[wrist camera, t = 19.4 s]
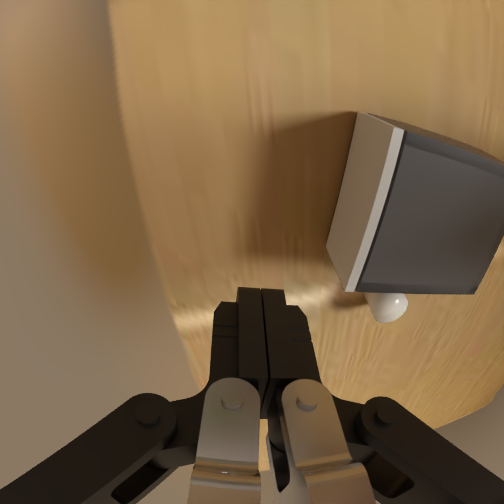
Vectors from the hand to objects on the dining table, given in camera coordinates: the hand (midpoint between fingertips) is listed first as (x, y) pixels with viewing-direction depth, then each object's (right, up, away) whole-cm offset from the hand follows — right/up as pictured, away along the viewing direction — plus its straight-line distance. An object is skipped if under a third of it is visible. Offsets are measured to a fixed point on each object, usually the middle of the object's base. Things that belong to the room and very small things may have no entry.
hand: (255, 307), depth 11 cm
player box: (+16, +7, +17) cm, 24 cm away
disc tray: (+14, +7, +16) cm, 23 cm away
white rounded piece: (+14, -2, +23) cm, 27 cm away
